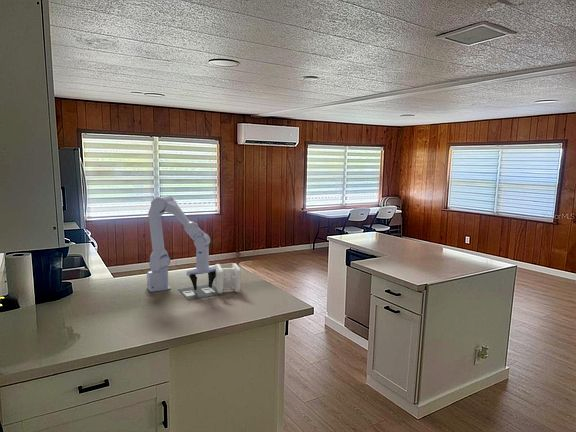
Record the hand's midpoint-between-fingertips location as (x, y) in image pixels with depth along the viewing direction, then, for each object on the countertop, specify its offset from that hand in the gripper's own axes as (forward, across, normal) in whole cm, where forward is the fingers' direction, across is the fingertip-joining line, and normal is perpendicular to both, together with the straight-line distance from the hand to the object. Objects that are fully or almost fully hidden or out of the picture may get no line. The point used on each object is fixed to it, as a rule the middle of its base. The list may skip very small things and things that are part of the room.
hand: (202, 288), depth 184 cm
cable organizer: (+1, +10, -4) cm, 11 cm away
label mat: (+1, -1, 0) cm, 2 cm away
